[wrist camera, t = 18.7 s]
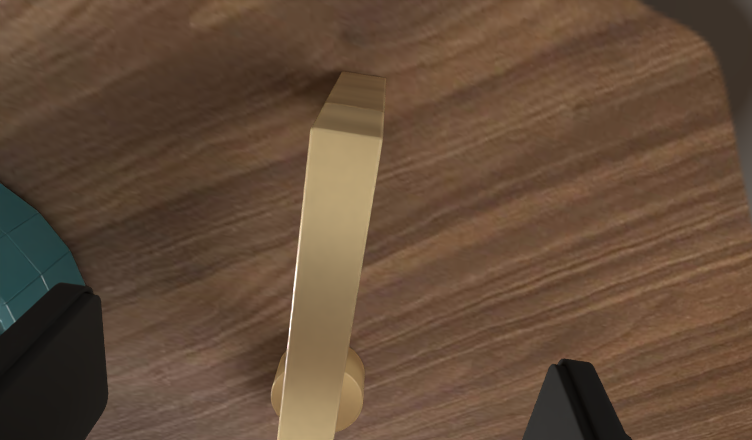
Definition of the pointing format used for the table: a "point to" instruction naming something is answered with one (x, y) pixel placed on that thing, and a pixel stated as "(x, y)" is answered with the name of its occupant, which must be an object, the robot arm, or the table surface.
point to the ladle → (331, 264)
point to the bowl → (28, 258)
